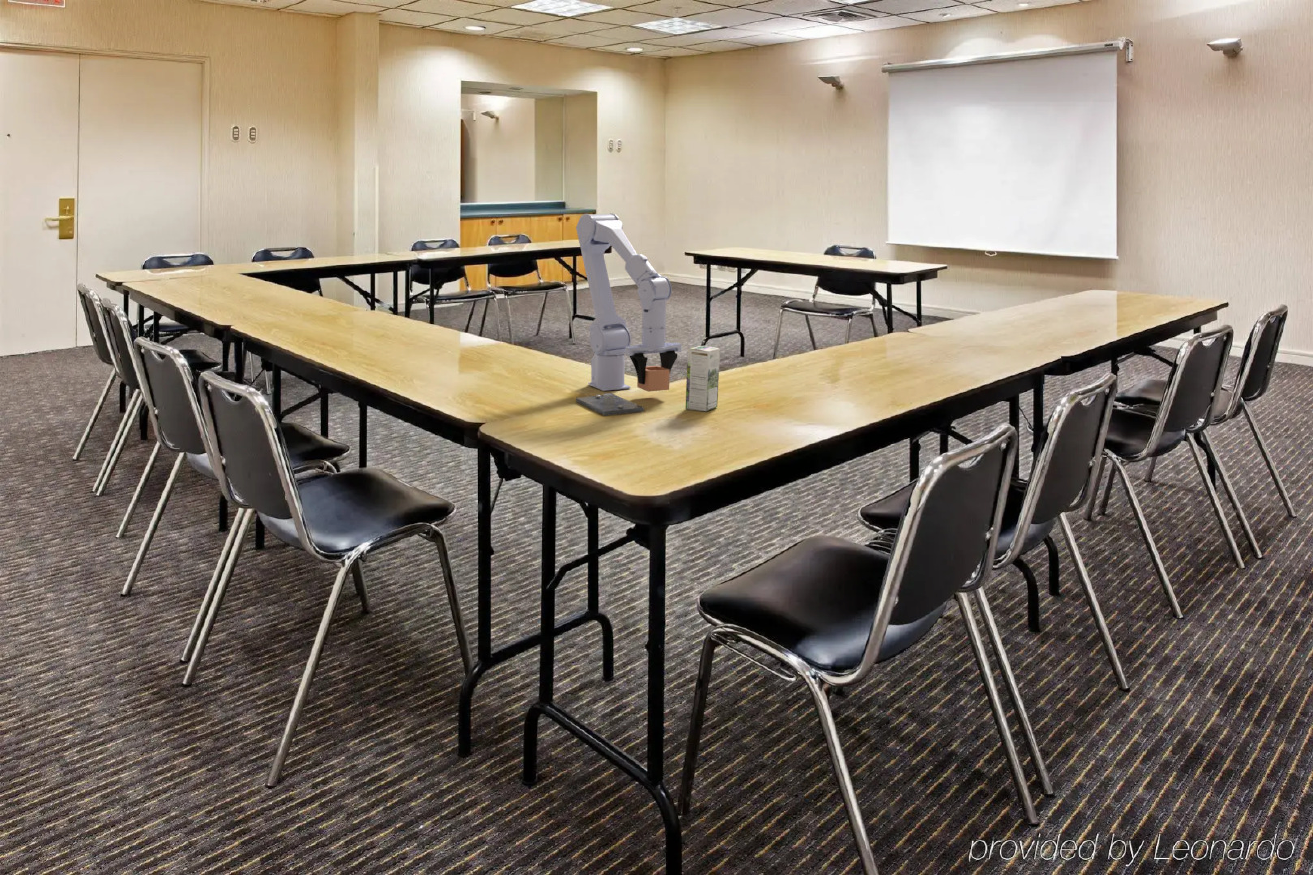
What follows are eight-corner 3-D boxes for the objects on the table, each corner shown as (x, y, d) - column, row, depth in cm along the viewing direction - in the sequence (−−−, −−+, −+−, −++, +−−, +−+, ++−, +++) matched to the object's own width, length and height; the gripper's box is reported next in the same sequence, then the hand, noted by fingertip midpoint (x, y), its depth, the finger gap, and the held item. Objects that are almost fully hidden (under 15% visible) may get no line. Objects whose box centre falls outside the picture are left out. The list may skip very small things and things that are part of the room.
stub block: (576, 402, 237) (576, 389, 236) (613, 398, 241) (613, 386, 241) (604, 415, 223) (604, 402, 222) (643, 411, 228) (643, 398, 227)
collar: (637, 387, 243) (637, 367, 241) (657, 385, 245) (658, 365, 244) (648, 391, 238) (648, 371, 236) (669, 389, 240) (669, 369, 239)
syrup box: (696, 404, 236) (698, 344, 232) (718, 407, 233) (720, 347, 229) (685, 409, 231) (686, 348, 227) (707, 412, 228) (708, 350, 224)
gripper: (635, 331, 231) (634, 387, 234) (688, 327, 238) (686, 382, 241) (621, 327, 237) (621, 382, 240) (673, 324, 244) (672, 377, 247)
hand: (653, 382), depth 241 cm, fingers closed on collar, 6 cm apart
